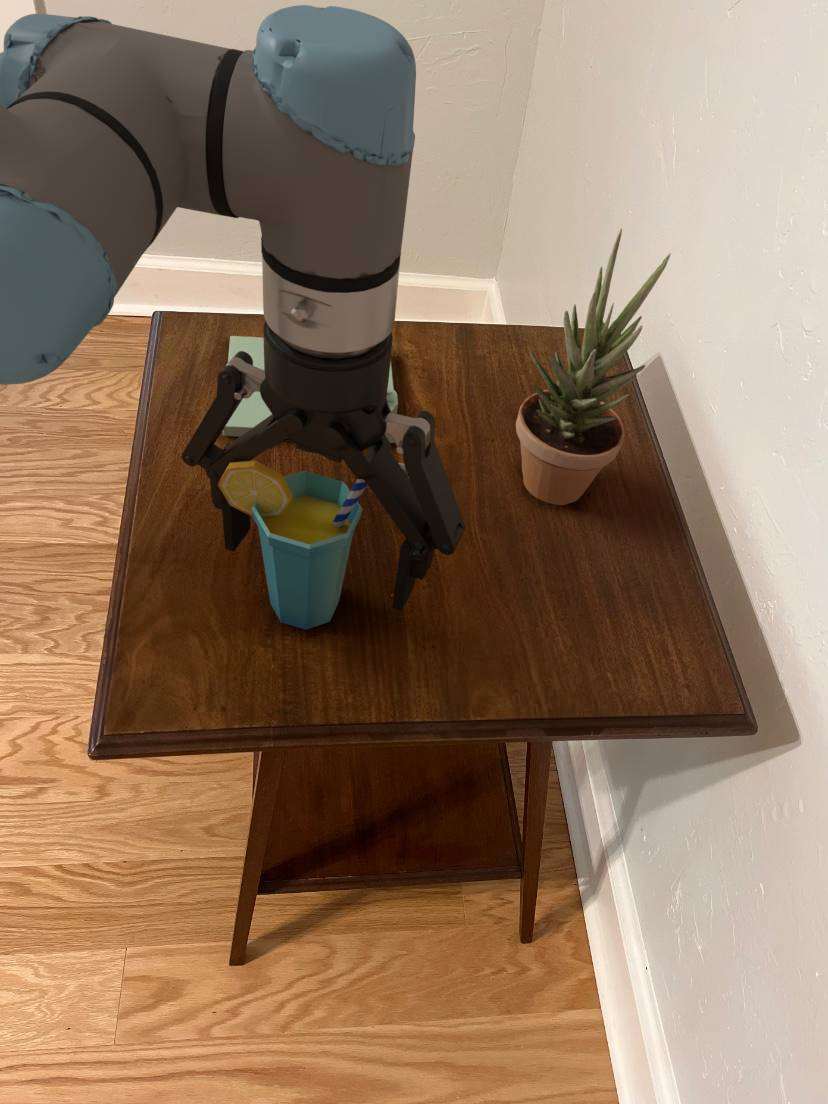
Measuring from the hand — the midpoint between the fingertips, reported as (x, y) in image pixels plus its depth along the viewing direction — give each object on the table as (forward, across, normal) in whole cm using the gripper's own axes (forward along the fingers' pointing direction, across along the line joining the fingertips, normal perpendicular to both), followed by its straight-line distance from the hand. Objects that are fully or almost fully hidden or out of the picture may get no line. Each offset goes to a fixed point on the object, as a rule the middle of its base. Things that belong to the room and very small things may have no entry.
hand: (319, 568), depth 69 cm
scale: (+4, -12, +24) cm, 27 cm away
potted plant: (+4, +13, +23) cm, 27 cm away
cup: (+4, 0, 0) cm, 4 cm away
